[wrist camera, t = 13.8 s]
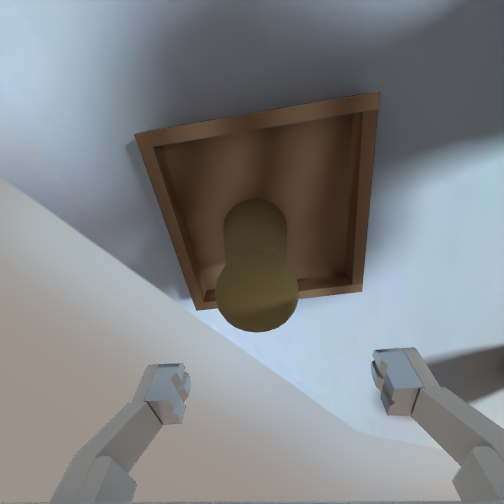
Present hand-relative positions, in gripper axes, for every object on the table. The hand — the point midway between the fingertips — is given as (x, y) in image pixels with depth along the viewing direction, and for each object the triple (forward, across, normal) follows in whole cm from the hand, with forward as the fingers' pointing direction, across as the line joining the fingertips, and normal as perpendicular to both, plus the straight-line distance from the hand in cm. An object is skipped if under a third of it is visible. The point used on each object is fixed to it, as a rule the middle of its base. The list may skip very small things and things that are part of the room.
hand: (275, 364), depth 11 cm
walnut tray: (+16, 0, 0) cm, 16 cm away
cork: (+15, +1, +1) cm, 15 cm away
